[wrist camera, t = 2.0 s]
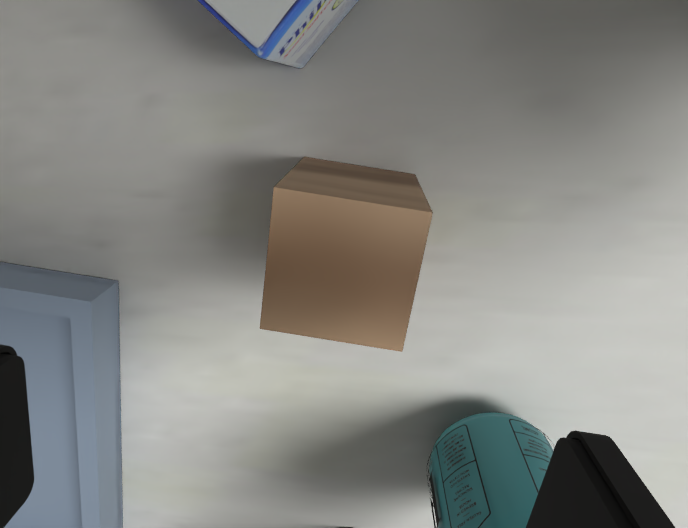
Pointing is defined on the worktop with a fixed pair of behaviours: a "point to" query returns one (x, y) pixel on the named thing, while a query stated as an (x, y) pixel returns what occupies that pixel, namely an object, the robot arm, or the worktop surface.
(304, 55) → the medicine box
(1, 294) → the tray
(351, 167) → the walnut block
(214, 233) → the worktop surface
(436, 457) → the beverage bottle
